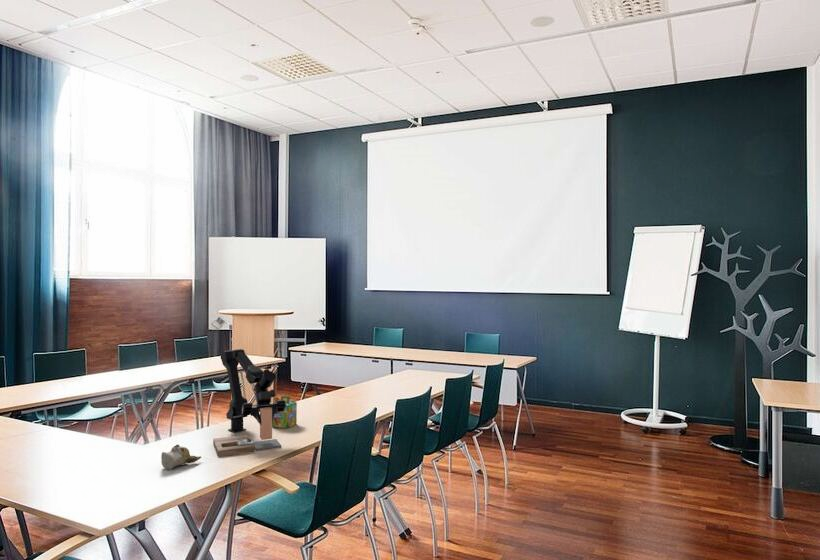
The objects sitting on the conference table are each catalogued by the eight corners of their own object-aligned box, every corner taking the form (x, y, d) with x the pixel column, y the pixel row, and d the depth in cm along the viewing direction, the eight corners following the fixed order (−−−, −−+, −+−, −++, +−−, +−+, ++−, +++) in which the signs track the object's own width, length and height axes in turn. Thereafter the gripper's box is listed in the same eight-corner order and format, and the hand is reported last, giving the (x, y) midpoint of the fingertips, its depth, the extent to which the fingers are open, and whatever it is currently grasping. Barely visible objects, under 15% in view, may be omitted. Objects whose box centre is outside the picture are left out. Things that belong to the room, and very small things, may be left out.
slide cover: (236, 441, 252) (236, 437, 252) (250, 439, 255) (250, 436, 255) (238, 445, 246) (238, 442, 246) (253, 444, 248) (253, 440, 248)
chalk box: (271, 427, 285) (271, 397, 285) (281, 423, 294) (280, 394, 294) (288, 429, 283) (288, 398, 283) (297, 424, 291) (297, 395, 291)
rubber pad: (251, 444, 257) (251, 442, 257) (276, 441, 261) (276, 439, 261) (255, 450, 247) (255, 448, 247) (281, 447, 251) (281, 445, 251)
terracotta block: (259, 437, 255) (259, 408, 255) (270, 436, 257) (270, 407, 257) (261, 439, 251) (261, 410, 251) (272, 438, 253) (272, 409, 253)
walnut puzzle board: (213, 444, 257) (213, 438, 257) (247, 440, 263) (247, 434, 263) (217, 456, 239) (217, 450, 239) (254, 452, 245) (254, 446, 245)
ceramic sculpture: (153, 446, 225) (185, 439, 238) (152, 468, 224) (184, 460, 237) (171, 450, 219) (203, 442, 232) (170, 473, 219) (202, 464, 232)
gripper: (242, 385, 254) (246, 415, 244) (285, 382, 261) (290, 411, 251) (240, 399, 261) (243, 429, 251) (281, 396, 269) (286, 425, 259)
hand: (266, 423), depth 253 cm, fingers closed on terracotta block, 4 cm apart
